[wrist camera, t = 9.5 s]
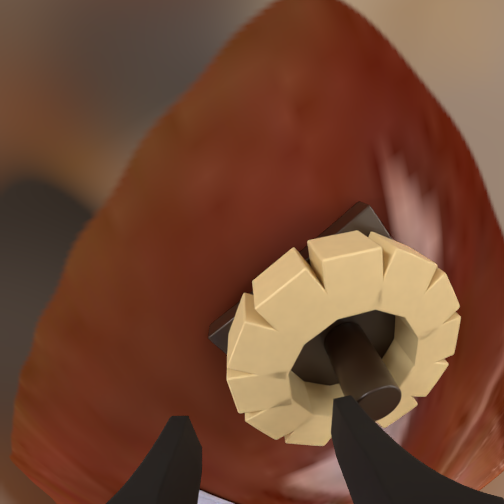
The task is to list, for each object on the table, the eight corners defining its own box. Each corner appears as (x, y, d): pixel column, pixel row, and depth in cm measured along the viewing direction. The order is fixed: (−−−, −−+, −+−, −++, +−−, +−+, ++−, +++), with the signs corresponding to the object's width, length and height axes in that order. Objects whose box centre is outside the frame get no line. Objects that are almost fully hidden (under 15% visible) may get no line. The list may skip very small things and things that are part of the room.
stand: (315, 411, 16) (335, 485, 11) (209, 324, 14) (195, 412, 9) (434, 322, 15) (489, 379, 9) (359, 200, 12) (432, 232, 7)
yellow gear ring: (313, 435, 15) (320, 464, 13) (182, 336, 13) (172, 369, 11) (455, 331, 14) (477, 354, 11) (370, 180, 11) (399, 186, 9)
